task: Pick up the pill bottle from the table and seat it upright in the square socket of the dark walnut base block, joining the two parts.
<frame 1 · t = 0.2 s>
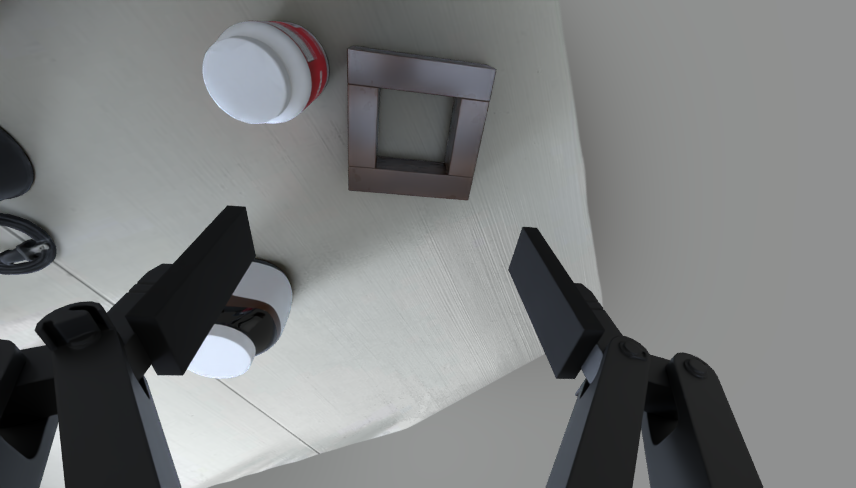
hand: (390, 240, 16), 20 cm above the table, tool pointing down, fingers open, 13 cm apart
socket base: (414, 124, 32), on the table
spread jar: (251, 289, 42), on the table
pill bottle: (294, 63, 29), on the table
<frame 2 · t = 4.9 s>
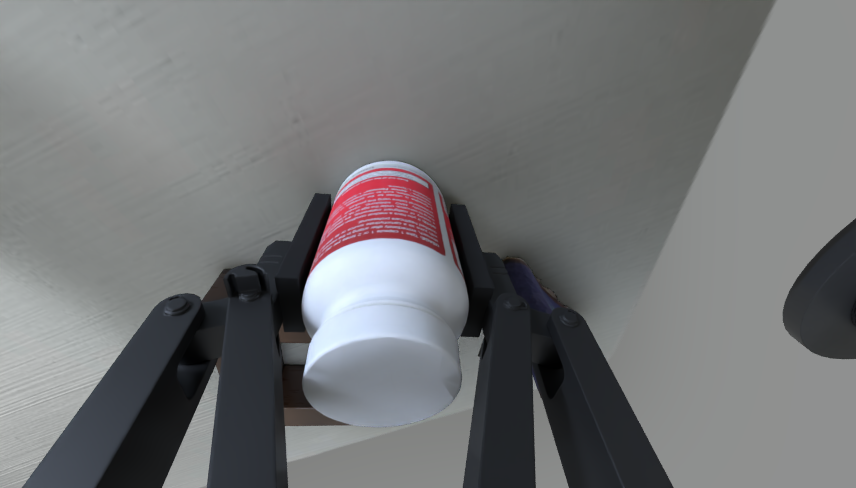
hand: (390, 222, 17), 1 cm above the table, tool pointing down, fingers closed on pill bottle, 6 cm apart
flask: (532, 295, 24), on the table
socket base: (327, 336, 24), on the table
pill bottle: (391, 208, 19), on the table, touching gripper
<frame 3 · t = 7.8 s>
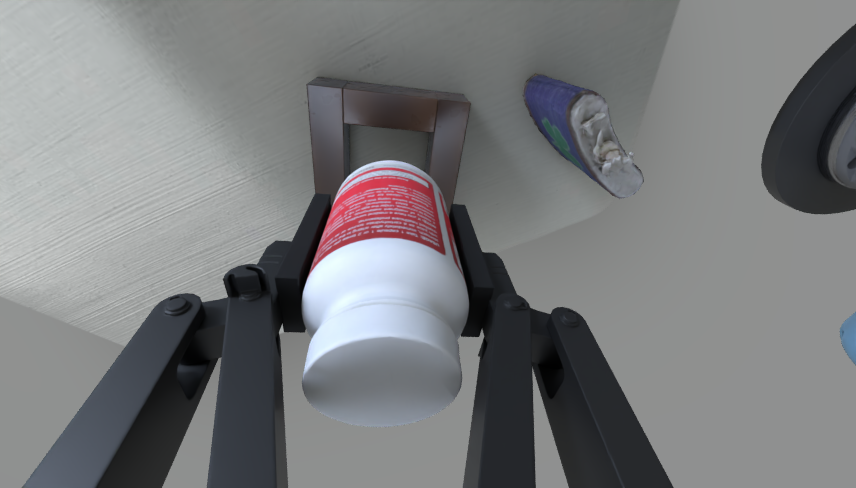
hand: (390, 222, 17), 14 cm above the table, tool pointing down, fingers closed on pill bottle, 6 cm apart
flask: (553, 119, 29), on the table
socket base: (388, 156, 30), on the table
pill bottle: (391, 207, 19), point 13 cm above the table, touching gripper
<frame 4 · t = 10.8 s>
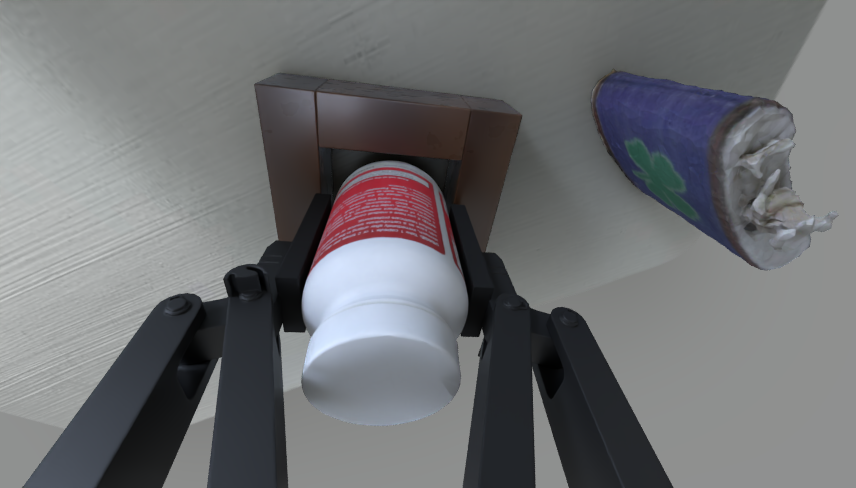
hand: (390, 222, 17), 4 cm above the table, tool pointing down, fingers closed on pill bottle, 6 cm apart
flask: (629, 137, 20), on the table
socket base: (389, 189, 21), on the table
pill bottle: (392, 207, 19), point 2 cm above the table, touching gripper
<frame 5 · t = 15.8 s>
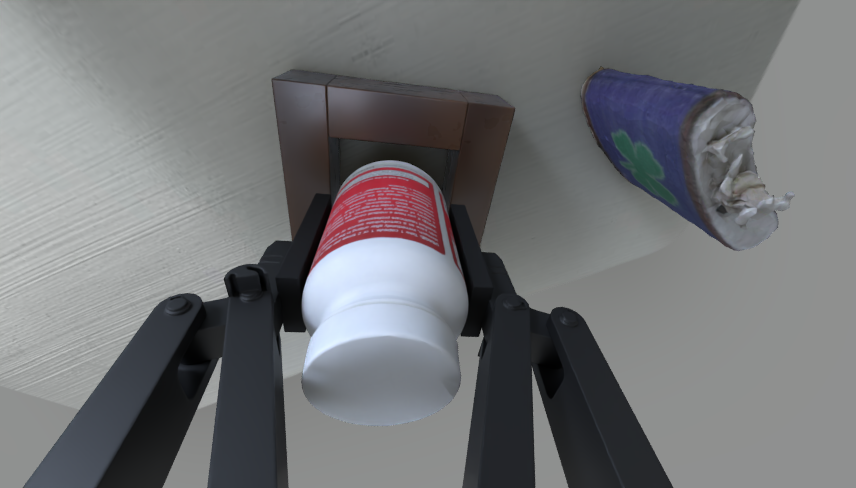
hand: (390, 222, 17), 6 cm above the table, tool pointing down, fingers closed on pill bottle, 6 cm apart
flask: (618, 130, 22), on the table
socket base: (392, 179, 22), on the table
pill bottle: (392, 207, 19), point 4 cm above the table, touching gripper
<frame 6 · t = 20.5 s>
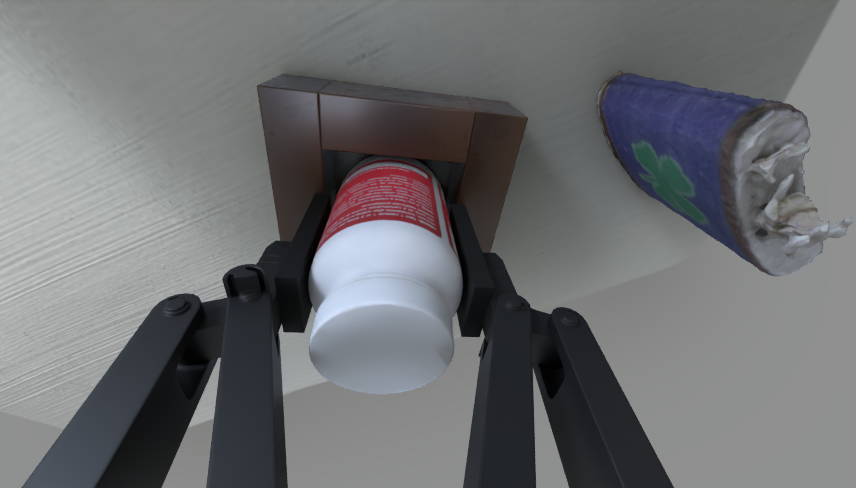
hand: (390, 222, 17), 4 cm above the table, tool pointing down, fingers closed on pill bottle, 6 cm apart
flask: (636, 139, 20), on the table
socket base: (392, 191, 21), on the table
pill bottle: (392, 199, 20), point 1 cm above the table, touching gripper
when the fingers open (6 cm above the table, at t = 21.4 s): pill bottle drops 3 cm, resting in socket base.
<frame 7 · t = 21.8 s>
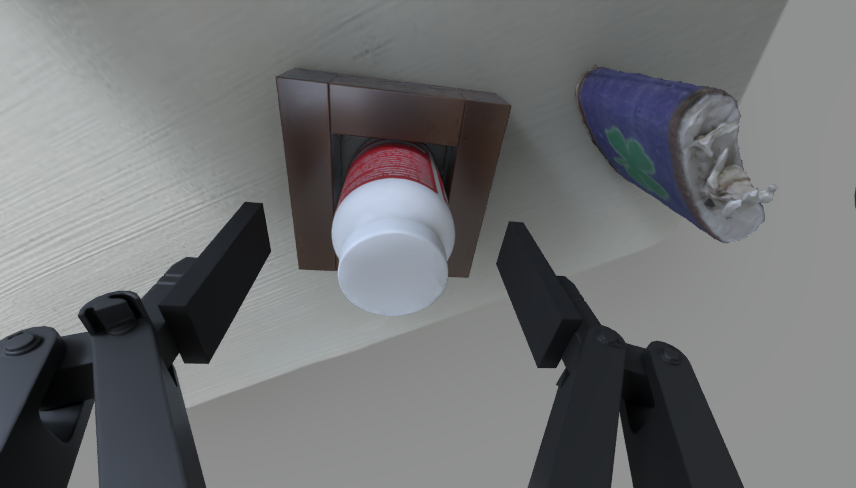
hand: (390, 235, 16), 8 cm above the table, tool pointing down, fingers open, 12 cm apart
flask: (612, 127, 22), on the table
socket base: (392, 175, 23), on the table
pill bottle: (395, 174, 23), resting in socket base
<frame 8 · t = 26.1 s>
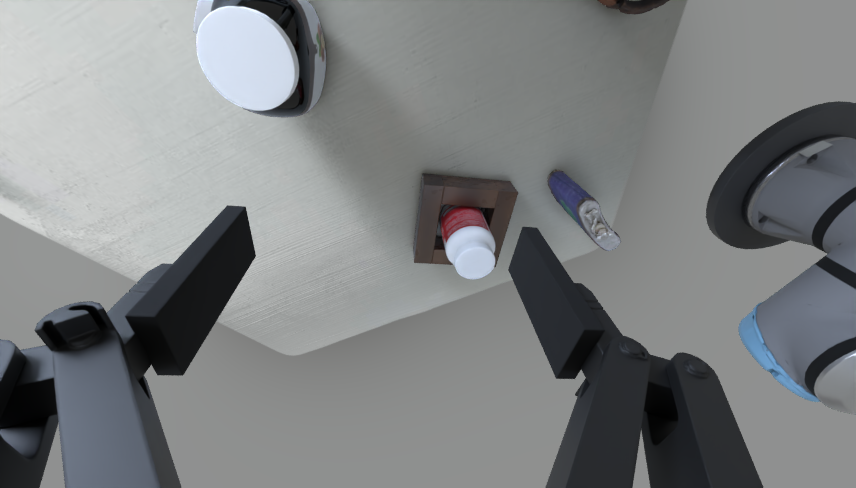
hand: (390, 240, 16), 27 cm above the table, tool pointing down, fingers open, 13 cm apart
flask: (566, 194, 46), on the table
socket base: (459, 216, 46), on the table
spread jar: (271, 36, 33), on the table
pill bottle: (460, 216, 47), resting in socket base
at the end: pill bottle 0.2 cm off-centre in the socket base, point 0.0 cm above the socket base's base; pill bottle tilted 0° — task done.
